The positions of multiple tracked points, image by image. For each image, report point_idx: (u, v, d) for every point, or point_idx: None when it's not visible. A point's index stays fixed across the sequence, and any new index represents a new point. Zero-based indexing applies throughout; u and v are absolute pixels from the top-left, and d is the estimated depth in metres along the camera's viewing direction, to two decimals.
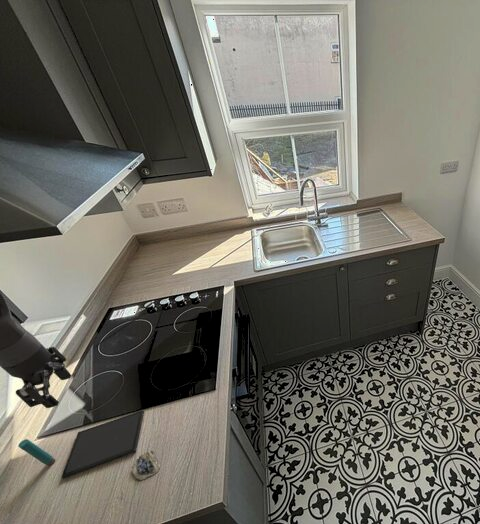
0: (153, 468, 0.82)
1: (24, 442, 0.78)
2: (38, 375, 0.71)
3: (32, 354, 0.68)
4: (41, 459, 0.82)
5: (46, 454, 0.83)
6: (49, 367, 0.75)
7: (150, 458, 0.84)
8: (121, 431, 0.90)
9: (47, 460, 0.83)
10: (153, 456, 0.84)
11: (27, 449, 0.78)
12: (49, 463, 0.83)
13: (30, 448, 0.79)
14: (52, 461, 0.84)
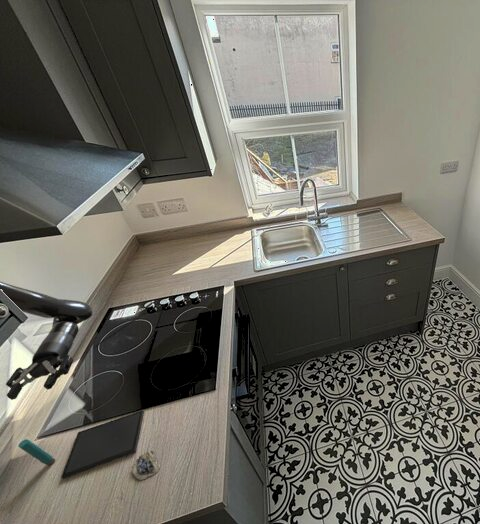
0: (153, 468, 0.82)
1: (24, 442, 0.78)
2: None
3: None
4: (41, 459, 0.82)
5: (46, 454, 0.83)
6: None
7: (150, 458, 0.84)
8: (121, 431, 0.90)
9: (47, 460, 0.83)
10: (153, 456, 0.84)
11: (27, 449, 0.78)
12: (49, 463, 0.83)
13: (30, 448, 0.79)
14: (52, 461, 0.84)
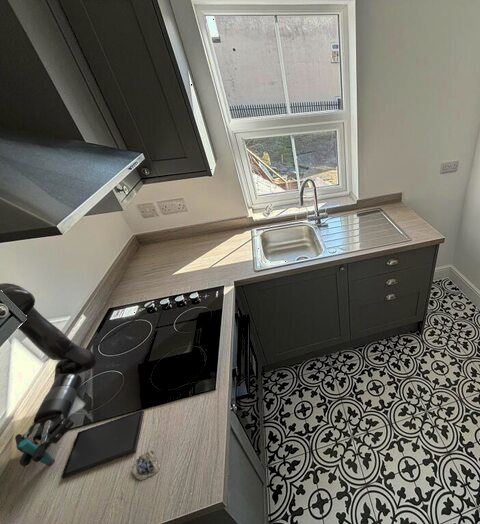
0: (153, 468, 0.82)
1: (24, 442, 0.78)
2: None
3: None
4: (41, 459, 0.82)
5: (46, 454, 0.83)
6: None
7: (150, 458, 0.84)
8: (121, 431, 0.90)
9: (47, 460, 0.83)
10: (153, 456, 0.84)
11: (27, 449, 0.78)
12: (49, 463, 0.83)
13: (30, 448, 0.79)
14: (52, 461, 0.84)
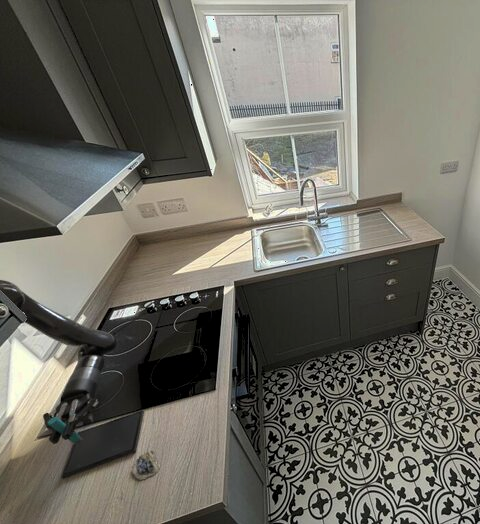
0: (153, 468, 0.82)
1: (53, 419, 0.78)
2: None
3: None
4: None
5: (74, 433, 0.82)
6: None
7: (150, 458, 0.84)
8: (121, 431, 0.90)
9: (75, 439, 0.83)
10: (153, 456, 0.84)
11: (56, 427, 0.78)
12: (77, 442, 0.83)
13: (59, 426, 0.78)
14: (79, 440, 0.84)
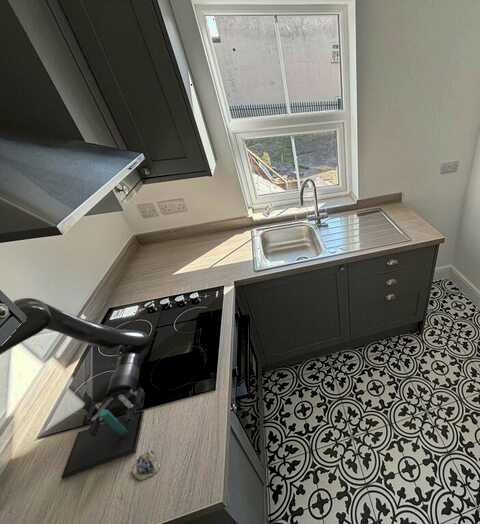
0: (153, 468, 0.82)
1: (104, 412, 0.83)
2: None
3: None
4: (117, 429, 0.86)
5: (121, 425, 0.87)
6: None
7: (150, 458, 0.84)
8: None
9: (121, 431, 0.87)
10: (153, 456, 0.84)
11: (107, 419, 0.83)
12: (123, 434, 0.88)
13: (109, 418, 0.83)
14: (125, 432, 0.89)
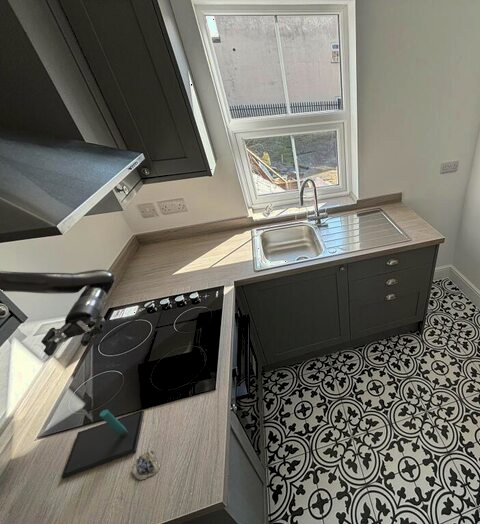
0: (153, 468, 0.82)
1: (104, 412, 0.83)
2: None
3: None
4: (117, 429, 0.86)
5: (121, 425, 0.87)
6: None
7: (150, 458, 0.84)
8: None
9: (121, 431, 0.87)
10: (153, 456, 0.84)
11: (107, 419, 0.83)
12: (123, 434, 0.88)
13: (109, 418, 0.83)
14: (125, 432, 0.89)
